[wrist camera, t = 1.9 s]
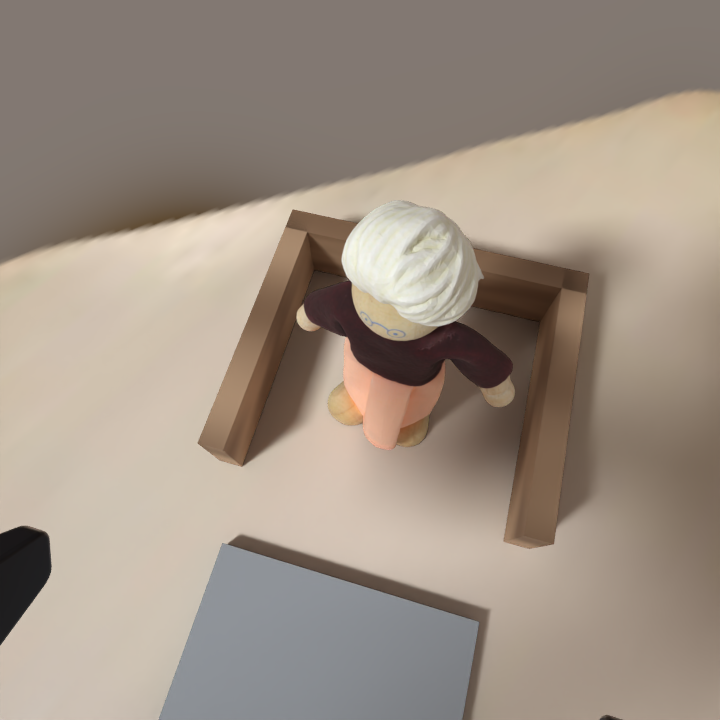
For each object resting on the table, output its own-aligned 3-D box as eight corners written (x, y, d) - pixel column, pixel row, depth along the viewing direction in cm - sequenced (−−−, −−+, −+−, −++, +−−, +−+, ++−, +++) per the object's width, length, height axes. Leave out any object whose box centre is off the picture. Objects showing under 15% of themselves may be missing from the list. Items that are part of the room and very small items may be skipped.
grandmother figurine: (295, 434, 22) (209, 274, 11) (319, 354, 24) (266, 135, 12) (474, 475, 21) (597, 350, 10) (487, 389, 23) (607, 191, 11)
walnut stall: (529, 548, 20) (553, 544, 17) (219, 460, 22) (197, 443, 19) (564, 308, 24) (589, 273, 21) (301, 248, 26) (292, 209, 23)
